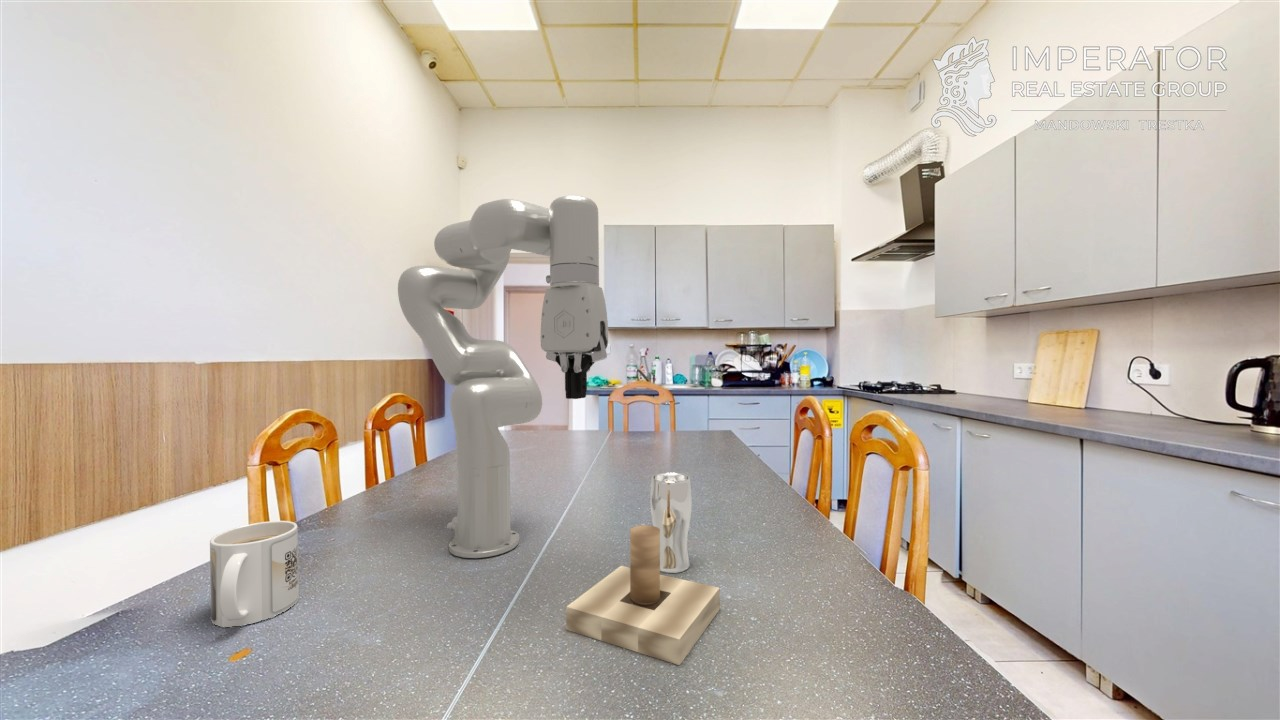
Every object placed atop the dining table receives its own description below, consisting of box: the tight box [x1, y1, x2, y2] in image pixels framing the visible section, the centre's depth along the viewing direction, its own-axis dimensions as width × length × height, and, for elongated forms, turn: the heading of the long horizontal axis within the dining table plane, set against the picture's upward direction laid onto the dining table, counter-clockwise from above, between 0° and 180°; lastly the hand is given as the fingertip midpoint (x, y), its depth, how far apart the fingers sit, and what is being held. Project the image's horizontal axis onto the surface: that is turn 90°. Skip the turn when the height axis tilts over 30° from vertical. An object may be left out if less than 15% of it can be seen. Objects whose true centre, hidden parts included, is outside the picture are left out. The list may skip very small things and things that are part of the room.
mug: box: [209, 520, 300, 628], centre depth 68 cm, size 10×12×11 cm
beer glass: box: [649, 472, 693, 574], centre depth 83 cm, size 7×7×15 cm
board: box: [565, 565, 721, 666], centre depth 66 cm, size 16×14×3 cm
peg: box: [629, 524, 661, 610], centre depth 66 cm, size 4×4×12 cm
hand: (576, 397), depth 76 cm, fingers closed
